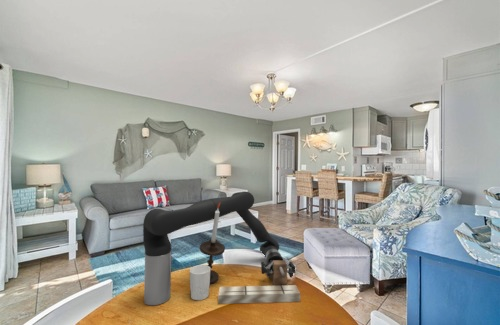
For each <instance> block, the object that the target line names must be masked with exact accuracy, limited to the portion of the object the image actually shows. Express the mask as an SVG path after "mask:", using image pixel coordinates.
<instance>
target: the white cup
mask: <svg viewBox="0 0 500 325" xmlns="http://www.w3.org/2000/svg"><path fill="white" fill-rule="evenodd" d="M210 270H212V269H211V268H210V267H209V266H208V265H204V264H199V265H195V266H193V267H191V268H190V269H189V284H190V285H189V287H190V299H192V300H194V301H202V300H205V299H206V298H208V297H209V294H210V285H211V284H210Z"/></svg>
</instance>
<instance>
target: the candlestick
mask: <svg viewBox="0 0 500 325" xmlns="http://www.w3.org/2000/svg"><path fill="white" fill-rule="evenodd" d="M220 203H221V202H220ZM220 203H219V205H218V206H217V211H215V217H214V219H213V224H212V233H211V239H209V240H207V241H203V242H201V243H200V244H199V251H200V252H201V254H204V255H206V256H208V257H209V259H208V260H207V261H206V263H207V266H209V267H210V268H211V270H210V285H213V284H215V283H217V282H218V280H219V273H218V272H217V271H215V270H213V264H214V259H213V258H214V256H215V257H217V256H220V255H222V254H223V253H225V249H226V247H225V245H224V244H223V243H221V242H219V241H218V240H217V234H218V233H217V232H218V227H219V226H218V225H219V220H220V217H219V213H220V212H219V209H218V208H219V206H220Z"/></svg>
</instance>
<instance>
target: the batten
mask: <svg viewBox="0 0 500 325" xmlns="http://www.w3.org/2000/svg"><path fill="white" fill-rule="evenodd" d="M217 295H218V296H217V297H218V298H217V302H218V305H225V304H226V305H227V304H228V305H229V304H258V303H259V304H261V303H262V304H263V303H267V304H268V303H270V304H271V303H297V302H299V303H300V302H301V292H300V290H299V288H298V286H297V285H296V284H293V285H292V284H291V285H289V284H287V285H280V286H273V285H252V286H251V285H244V286H241V285H238V286H219V290H218V294H217Z"/></svg>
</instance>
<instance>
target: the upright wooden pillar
mask: <svg viewBox="0 0 500 325" xmlns="http://www.w3.org/2000/svg"><path fill="white" fill-rule="evenodd" d="M287 264H288V263H287V261H286V259H283V260H274V261H273V272H272V286H280V285H288V273H287Z"/></svg>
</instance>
